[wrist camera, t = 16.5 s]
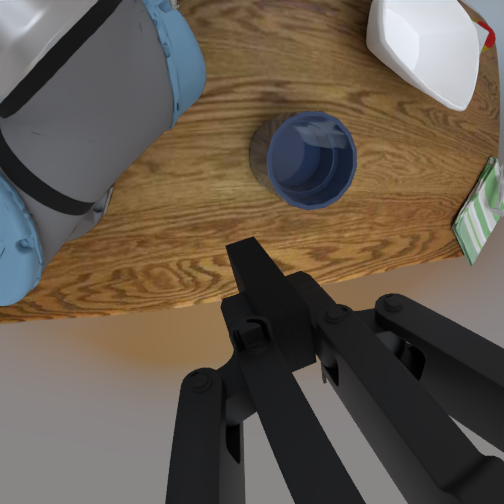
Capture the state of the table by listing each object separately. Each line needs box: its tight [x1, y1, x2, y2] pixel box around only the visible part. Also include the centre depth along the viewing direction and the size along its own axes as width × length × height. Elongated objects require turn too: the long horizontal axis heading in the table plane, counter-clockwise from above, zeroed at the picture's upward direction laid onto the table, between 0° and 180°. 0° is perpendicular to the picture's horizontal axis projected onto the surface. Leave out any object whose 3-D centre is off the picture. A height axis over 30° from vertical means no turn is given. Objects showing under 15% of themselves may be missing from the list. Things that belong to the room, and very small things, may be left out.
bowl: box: [366, 0, 479, 111], centre depth 31 cm, size 22×22×12 cm
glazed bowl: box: [250, 111, 357, 210], centre depth 37 cm, size 12×12×8 cm
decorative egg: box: [470, 18, 495, 52], centre depth 34 cm, size 8×8×10 cm
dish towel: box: [452, 156, 504, 265], centre depth 56 cm, size 18×23×3 cm
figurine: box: [488, 164, 504, 216], centre depth 52 cm, size 5×5×12 cm
